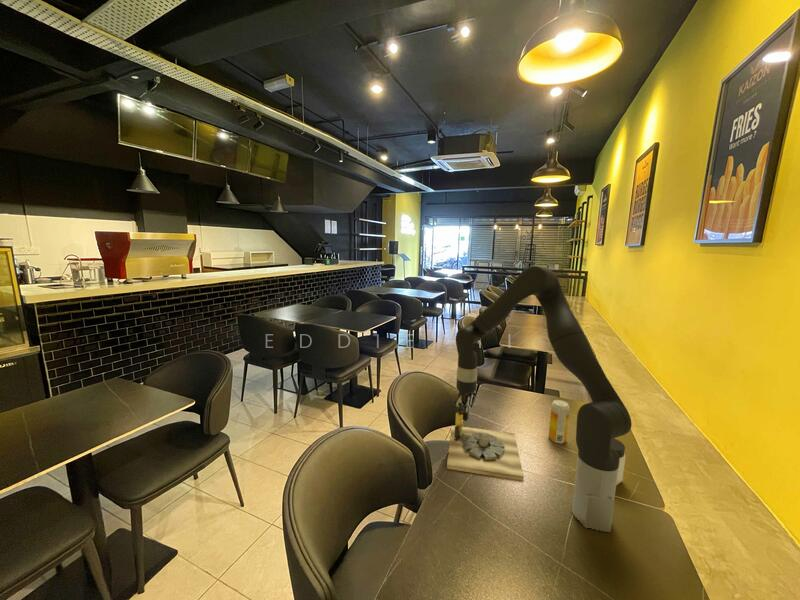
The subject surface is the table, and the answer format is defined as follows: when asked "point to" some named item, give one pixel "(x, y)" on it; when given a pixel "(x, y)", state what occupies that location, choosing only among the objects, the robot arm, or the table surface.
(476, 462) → the base
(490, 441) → the flange
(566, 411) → the orange white canister
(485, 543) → the table surface
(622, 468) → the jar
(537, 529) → the table surface
